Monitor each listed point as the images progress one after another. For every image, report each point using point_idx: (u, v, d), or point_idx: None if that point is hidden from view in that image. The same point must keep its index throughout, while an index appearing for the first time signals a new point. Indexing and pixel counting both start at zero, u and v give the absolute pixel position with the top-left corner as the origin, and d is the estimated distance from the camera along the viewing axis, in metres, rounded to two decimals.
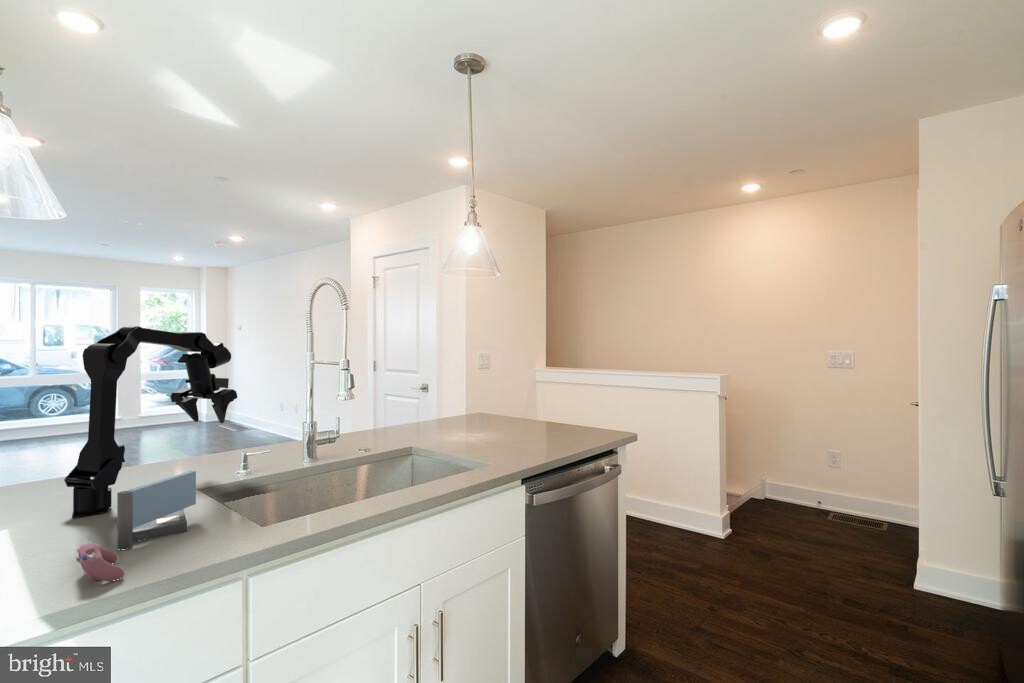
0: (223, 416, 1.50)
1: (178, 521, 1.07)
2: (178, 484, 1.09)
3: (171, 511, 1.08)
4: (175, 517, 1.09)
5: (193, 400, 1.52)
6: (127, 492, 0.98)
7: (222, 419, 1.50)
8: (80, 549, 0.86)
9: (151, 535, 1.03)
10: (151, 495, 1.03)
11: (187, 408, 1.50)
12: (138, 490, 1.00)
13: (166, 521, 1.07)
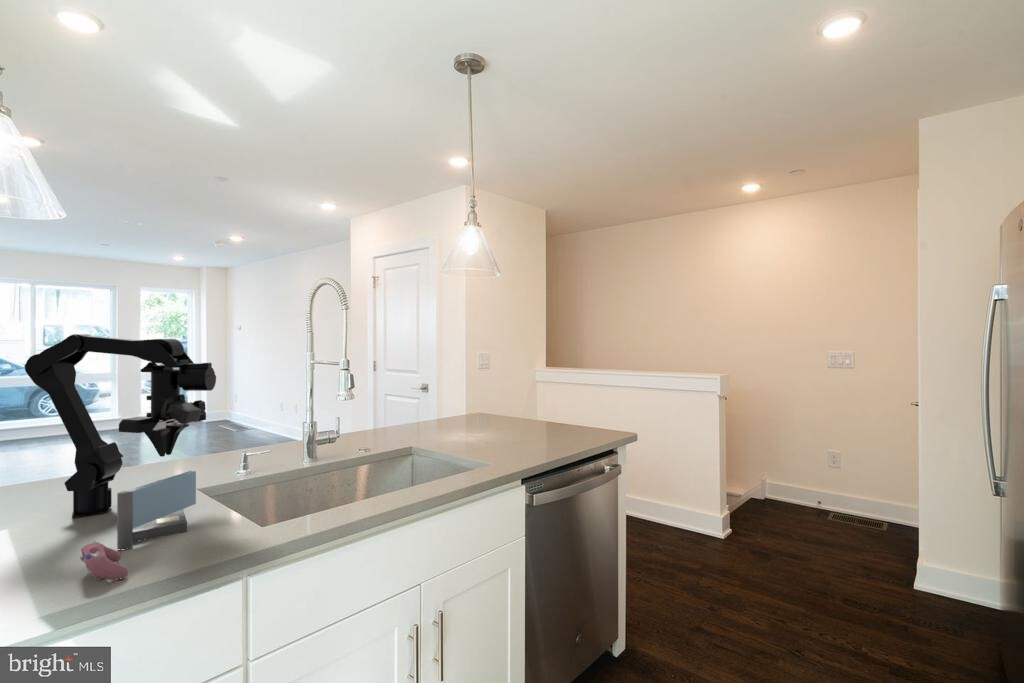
0: (159, 448, 1.18)
1: (178, 521, 1.07)
2: (178, 484, 1.09)
3: (171, 511, 1.08)
4: (175, 517, 1.09)
5: (173, 427, 1.21)
6: (127, 492, 0.98)
7: (159, 451, 1.19)
8: (84, 548, 0.86)
9: (151, 535, 1.03)
10: (151, 495, 1.03)
11: None
12: (138, 490, 1.00)
13: (166, 521, 1.07)
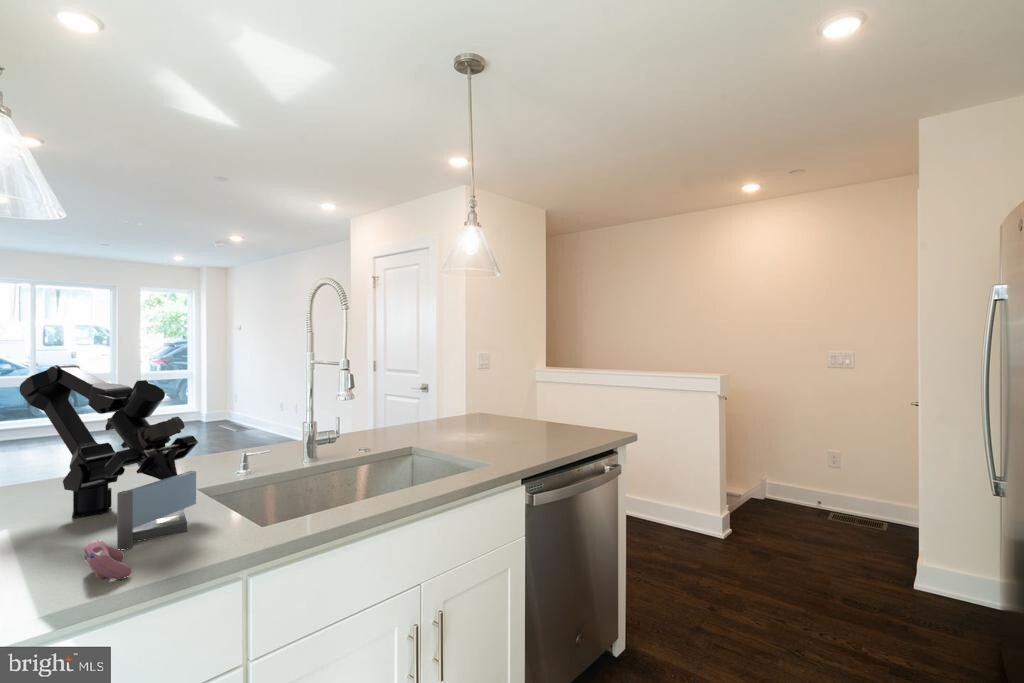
0: (166, 477, 1.10)
1: (178, 521, 1.07)
2: (178, 484, 1.09)
3: (171, 511, 1.08)
4: (175, 517, 1.09)
5: (164, 458, 1.12)
6: (127, 492, 0.98)
7: None
8: (87, 547, 0.86)
9: (151, 535, 1.03)
10: (151, 495, 1.03)
11: None
12: (138, 490, 1.00)
13: (166, 521, 1.07)
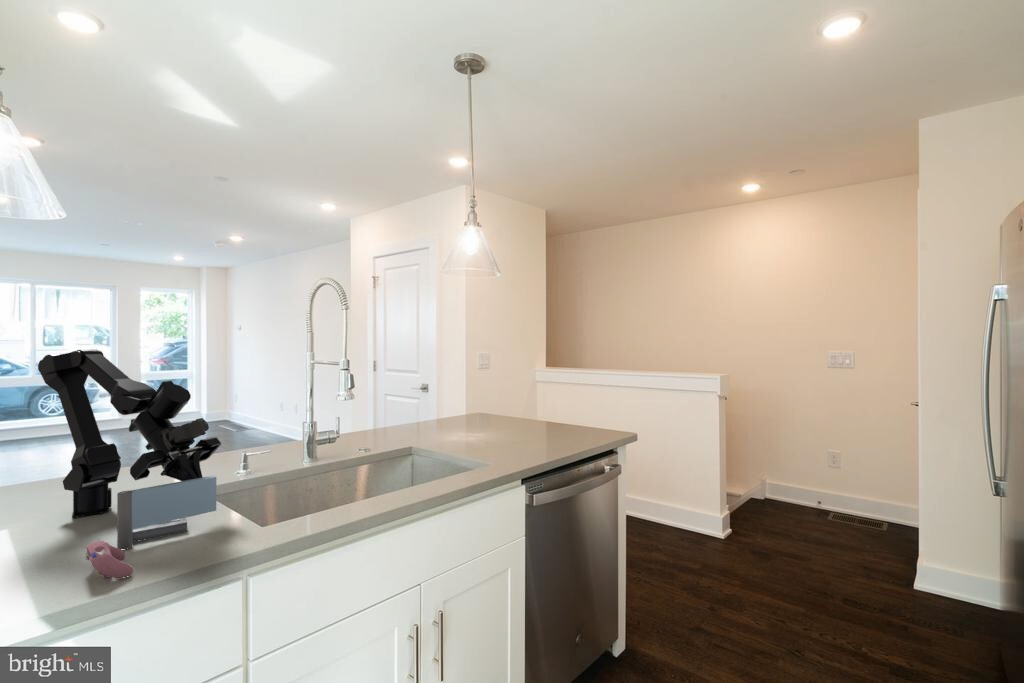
0: (190, 479, 1.08)
1: (178, 521, 1.07)
2: (192, 489, 1.06)
3: (183, 516, 1.05)
4: None
5: (189, 459, 1.11)
6: (126, 492, 0.98)
7: None
8: (89, 547, 0.86)
9: (151, 535, 1.03)
10: (156, 498, 1.02)
11: None
12: (139, 491, 1.00)
13: None
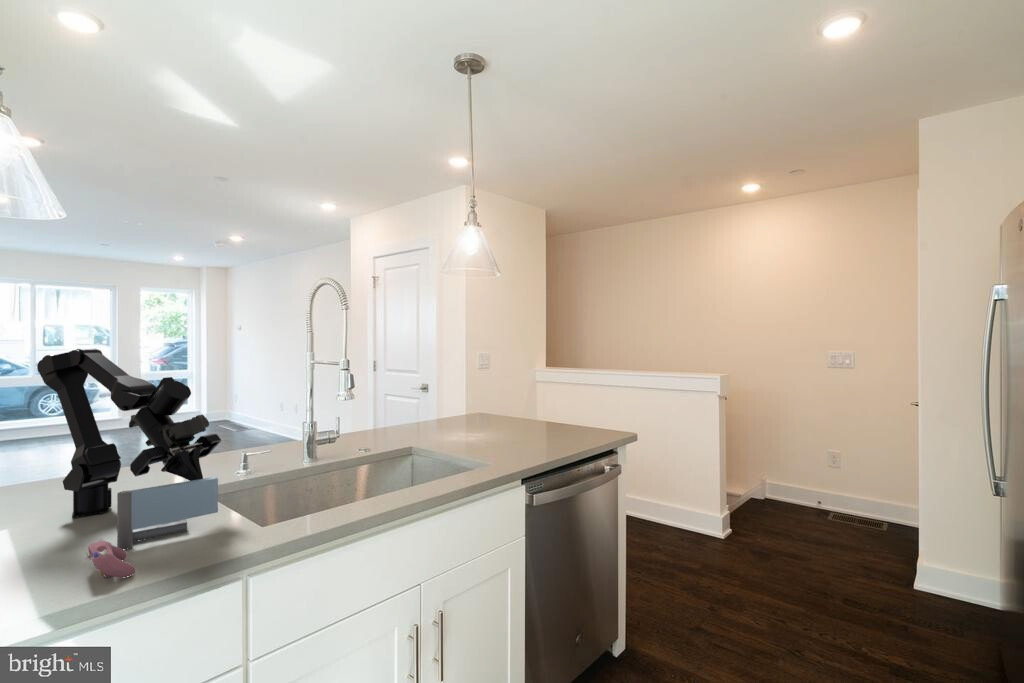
0: (191, 475, 1.09)
1: (178, 521, 1.07)
2: (193, 490, 1.06)
3: (183, 517, 1.05)
4: None
5: (188, 456, 1.11)
6: (125, 492, 0.98)
7: (193, 479, 1.09)
8: (91, 546, 0.87)
9: (151, 535, 1.03)
10: (156, 498, 1.01)
11: None
12: (139, 492, 0.99)
13: None
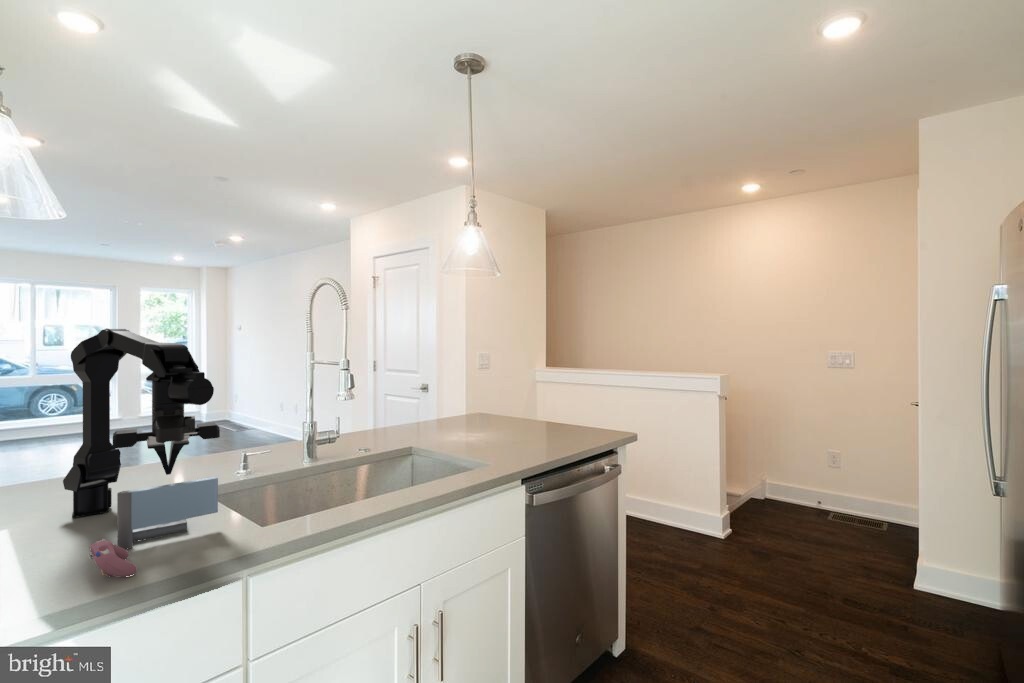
0: None
1: (178, 521, 1.07)
2: (193, 490, 1.06)
3: (183, 517, 1.05)
4: None
5: (172, 444, 1.07)
6: (125, 492, 0.98)
7: None
8: (93, 546, 0.87)
9: (151, 535, 1.03)
10: (156, 498, 1.01)
11: (170, 449, 1.09)
12: (139, 492, 0.99)
13: None
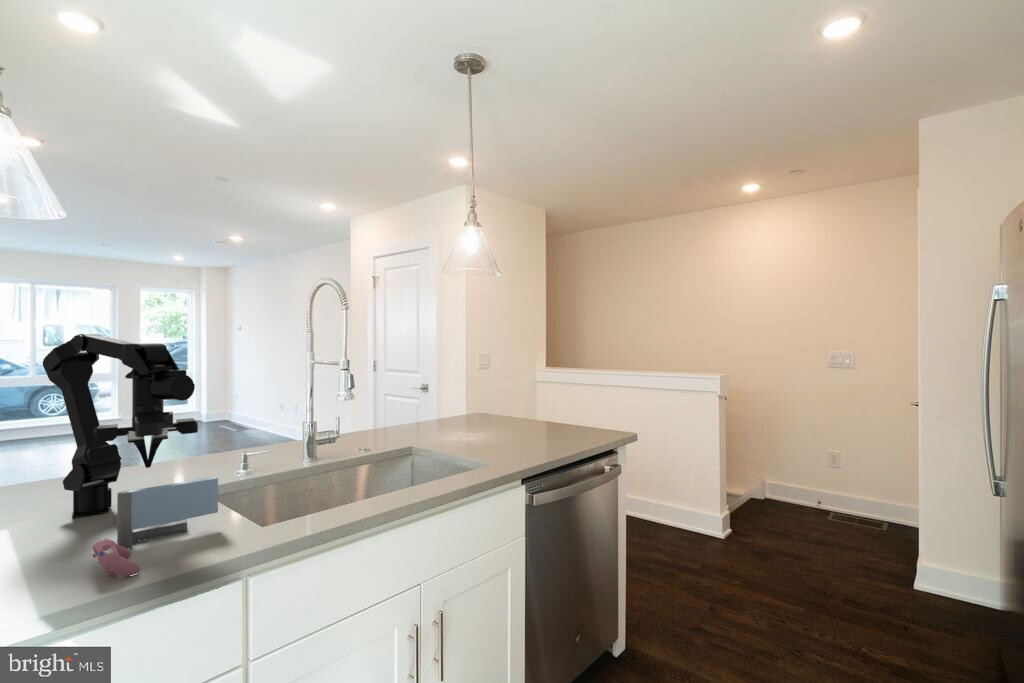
0: (142, 458, 1.12)
1: (178, 521, 1.07)
2: (193, 490, 1.06)
3: (183, 517, 1.05)
4: None
5: (151, 439, 1.13)
6: (125, 492, 0.98)
7: None
8: (96, 545, 0.87)
9: (151, 535, 1.03)
10: (156, 498, 1.01)
11: (150, 443, 1.15)
12: (139, 492, 0.99)
13: None
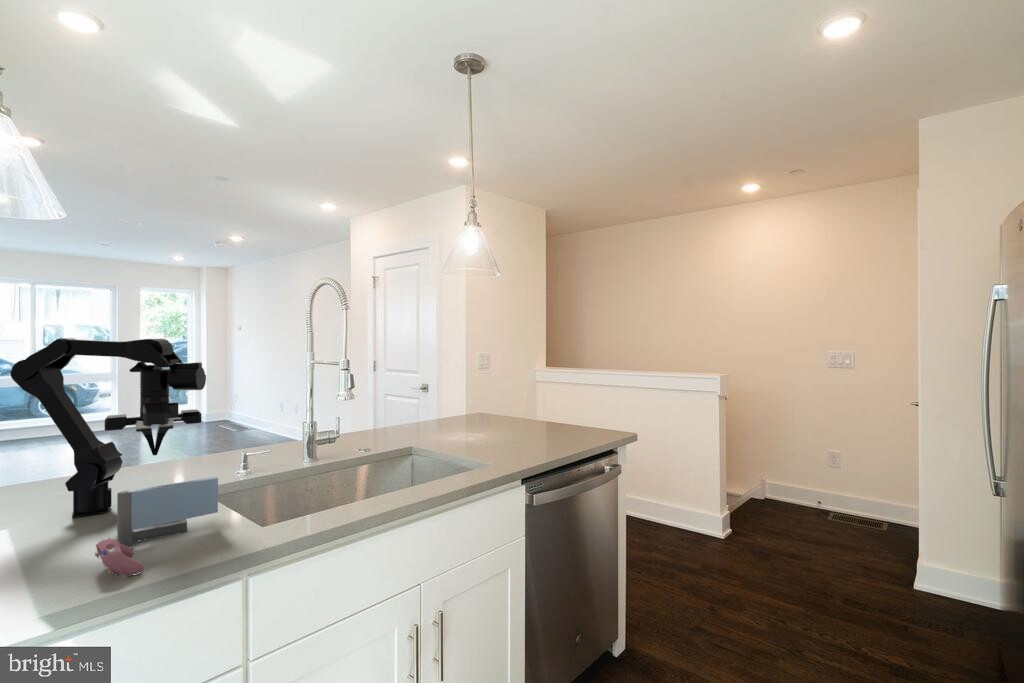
0: (149, 446, 1.20)
1: (178, 521, 1.07)
2: (193, 490, 1.06)
3: (183, 517, 1.05)
4: None
5: (158, 428, 1.20)
6: (125, 492, 0.98)
7: None
8: (99, 544, 0.88)
9: (151, 535, 1.03)
10: (156, 498, 1.01)
11: (157, 432, 1.22)
12: (139, 492, 0.99)
13: None
